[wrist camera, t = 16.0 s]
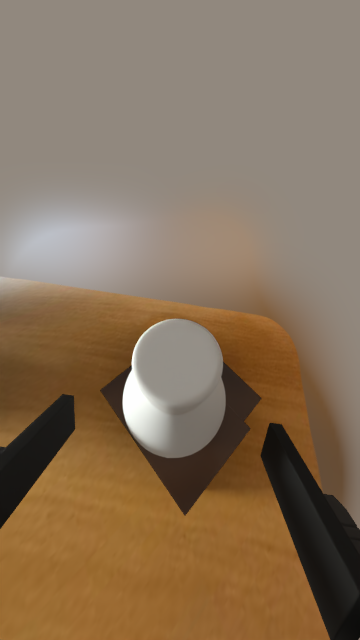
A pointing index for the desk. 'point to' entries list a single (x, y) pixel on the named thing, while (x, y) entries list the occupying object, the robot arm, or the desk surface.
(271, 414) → the desk surface
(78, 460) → the desk surface
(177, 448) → the bath foam
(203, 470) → the stepped brown block
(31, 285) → the desk surface
